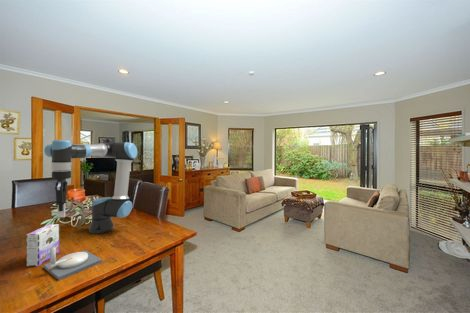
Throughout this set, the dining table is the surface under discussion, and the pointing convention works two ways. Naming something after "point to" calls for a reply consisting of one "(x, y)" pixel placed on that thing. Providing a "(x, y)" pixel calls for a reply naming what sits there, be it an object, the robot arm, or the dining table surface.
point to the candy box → (41, 244)
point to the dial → (68, 259)
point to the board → (65, 272)
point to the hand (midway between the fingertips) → (61, 216)
